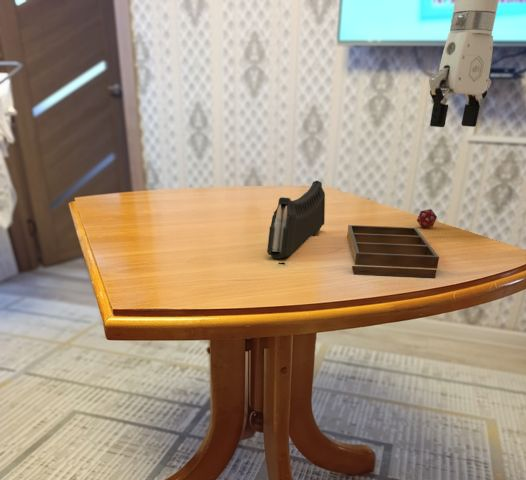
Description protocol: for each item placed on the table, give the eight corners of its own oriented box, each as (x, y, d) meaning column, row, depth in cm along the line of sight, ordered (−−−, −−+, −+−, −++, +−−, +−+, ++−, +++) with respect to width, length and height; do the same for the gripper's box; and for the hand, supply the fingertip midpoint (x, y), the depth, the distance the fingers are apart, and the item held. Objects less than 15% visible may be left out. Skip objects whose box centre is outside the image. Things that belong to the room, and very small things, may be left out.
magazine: (314, 184, 109) (277, 153, 81) (329, 185, 108) (297, 155, 80) (304, 264, 112) (264, 262, 84) (318, 266, 111) (283, 265, 83)
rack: (413, 245, 100) (416, 227, 99) (435, 278, 83) (439, 256, 81) (346, 243, 101) (348, 224, 100) (353, 274, 84) (356, 253, 82)
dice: (412, 227, 114) (414, 209, 113) (424, 224, 117) (427, 207, 115) (426, 230, 112) (429, 212, 110) (438, 228, 114) (441, 210, 112)
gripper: (458, 20, 87) (439, 128, 95) (517, 28, 96) (495, 127, 104) (424, 23, 93) (409, 125, 101) (483, 31, 101) (464, 124, 109)
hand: (453, 126), depth 102 cm, fingers open, 9 cm apart
